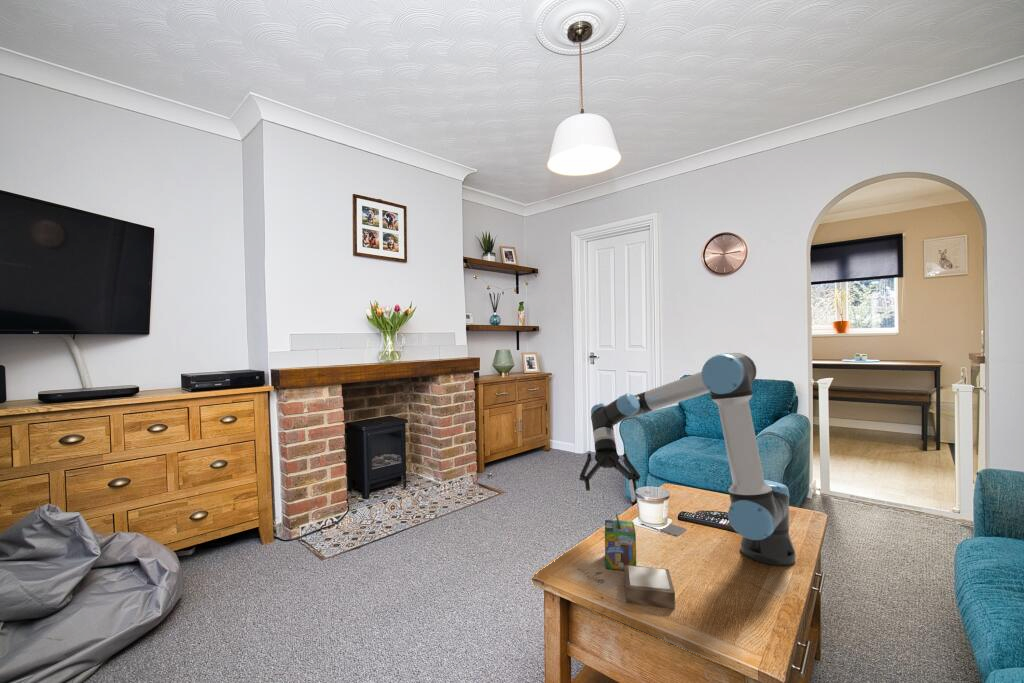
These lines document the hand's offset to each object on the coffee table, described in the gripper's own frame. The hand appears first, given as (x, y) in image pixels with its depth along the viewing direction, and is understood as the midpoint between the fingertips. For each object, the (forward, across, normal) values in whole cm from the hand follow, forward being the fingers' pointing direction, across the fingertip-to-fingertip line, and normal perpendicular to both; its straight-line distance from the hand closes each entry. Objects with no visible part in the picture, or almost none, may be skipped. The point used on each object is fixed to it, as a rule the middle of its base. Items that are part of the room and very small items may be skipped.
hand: (612, 499), depth 147 cm
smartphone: (0, -21, -24) cm, 32 cm away
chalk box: (+18, 0, -5) cm, 19 cm away
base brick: (+29, -5, +7) cm, 30 cm away
